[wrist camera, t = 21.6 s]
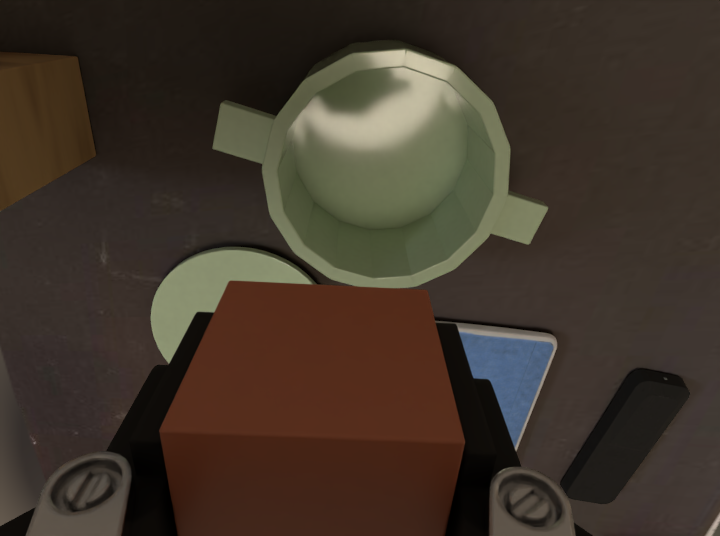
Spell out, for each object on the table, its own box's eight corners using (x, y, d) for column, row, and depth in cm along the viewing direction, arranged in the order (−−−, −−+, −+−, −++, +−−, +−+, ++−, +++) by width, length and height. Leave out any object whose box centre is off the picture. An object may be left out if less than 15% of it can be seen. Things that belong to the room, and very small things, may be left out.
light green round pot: (468, 266, 36) (494, 324, 30) (223, 195, 34) (191, 241, 27) (550, 94, 31) (604, 118, 24) (265, -8, 28) (238, -12, 21)
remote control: (601, 490, 49) (687, 377, 41) (609, 507, 47) (700, 392, 40) (555, 482, 48) (633, 366, 41) (561, 499, 46) (644, 381, 39)
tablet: (494, 494, 48) (498, 506, 47) (365, 484, 47) (365, 496, 46) (556, 329, 39) (563, 339, 38) (398, 312, 38) (400, 322, 37)
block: (239, 426, 13) (189, 607, 9) (228, 279, 11) (157, 430, 7) (407, 433, 13) (428, 614, 9) (427, 288, 11) (466, 442, 7)
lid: (308, 405, 42) (302, 454, 38) (146, 368, 40) (119, 414, 36) (356, 272, 36) (356, 310, 32) (169, 219, 34) (140, 252, 30)
